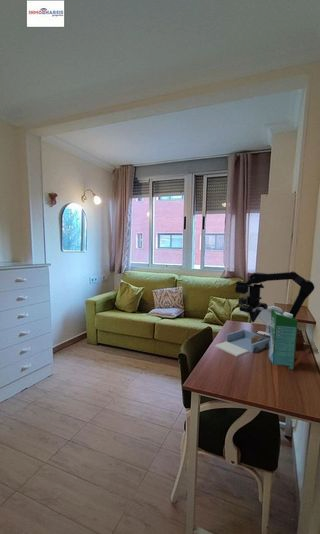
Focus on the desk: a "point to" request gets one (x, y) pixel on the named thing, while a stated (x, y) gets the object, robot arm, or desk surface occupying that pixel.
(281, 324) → the milk carton
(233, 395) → the desk surface
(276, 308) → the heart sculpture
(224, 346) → the tall thin white panel
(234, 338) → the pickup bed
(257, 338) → the brown cube
